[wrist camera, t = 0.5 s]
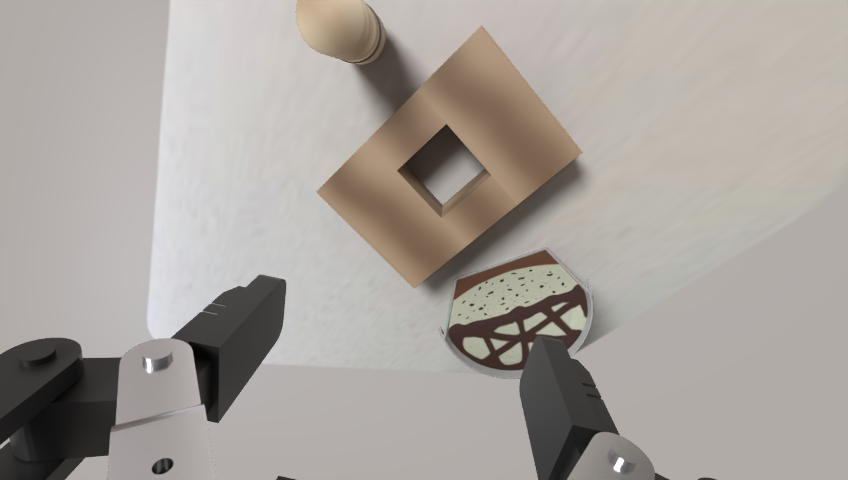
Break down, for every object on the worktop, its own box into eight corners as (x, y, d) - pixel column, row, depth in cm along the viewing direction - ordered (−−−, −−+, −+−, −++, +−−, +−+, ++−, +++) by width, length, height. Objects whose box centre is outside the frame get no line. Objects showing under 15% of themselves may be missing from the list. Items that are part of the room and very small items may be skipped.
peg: (364, -2, 31) (326, -42, 22) (400, 40, 32) (378, 19, 23) (330, 38, 32) (280, 16, 23) (365, 77, 33) (331, 71, 24)
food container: (463, 332, 41) (465, 401, 32) (441, 283, 40) (437, 342, 30) (579, 295, 39) (618, 359, 30) (561, 241, 37) (598, 291, 28)
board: (478, 33, 31) (481, 25, 28) (568, 145, 34) (582, 152, 30) (330, 181, 37) (316, 191, 33) (417, 269, 39) (414, 288, 35)
